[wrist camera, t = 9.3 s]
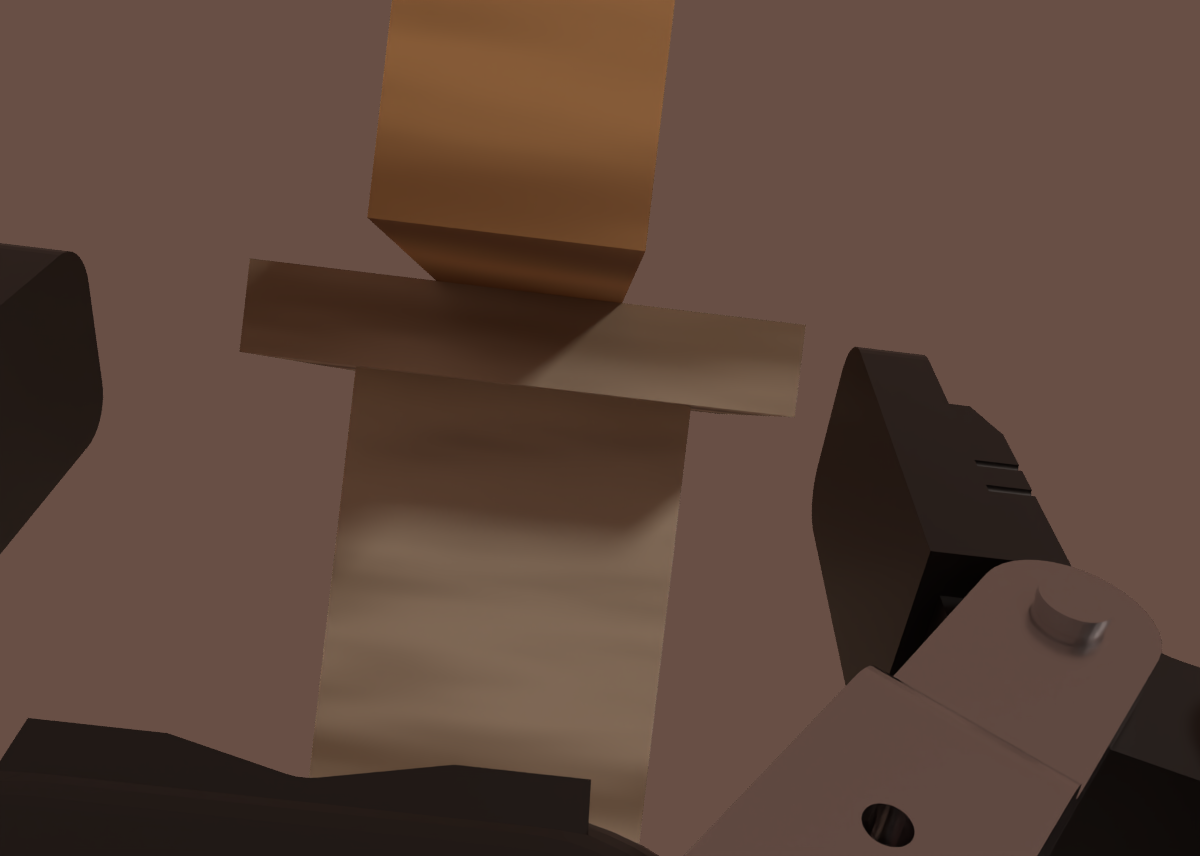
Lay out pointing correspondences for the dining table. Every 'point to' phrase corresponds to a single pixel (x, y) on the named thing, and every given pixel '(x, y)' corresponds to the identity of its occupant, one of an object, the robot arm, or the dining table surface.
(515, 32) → the bar
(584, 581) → the stand
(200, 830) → the robot arm
